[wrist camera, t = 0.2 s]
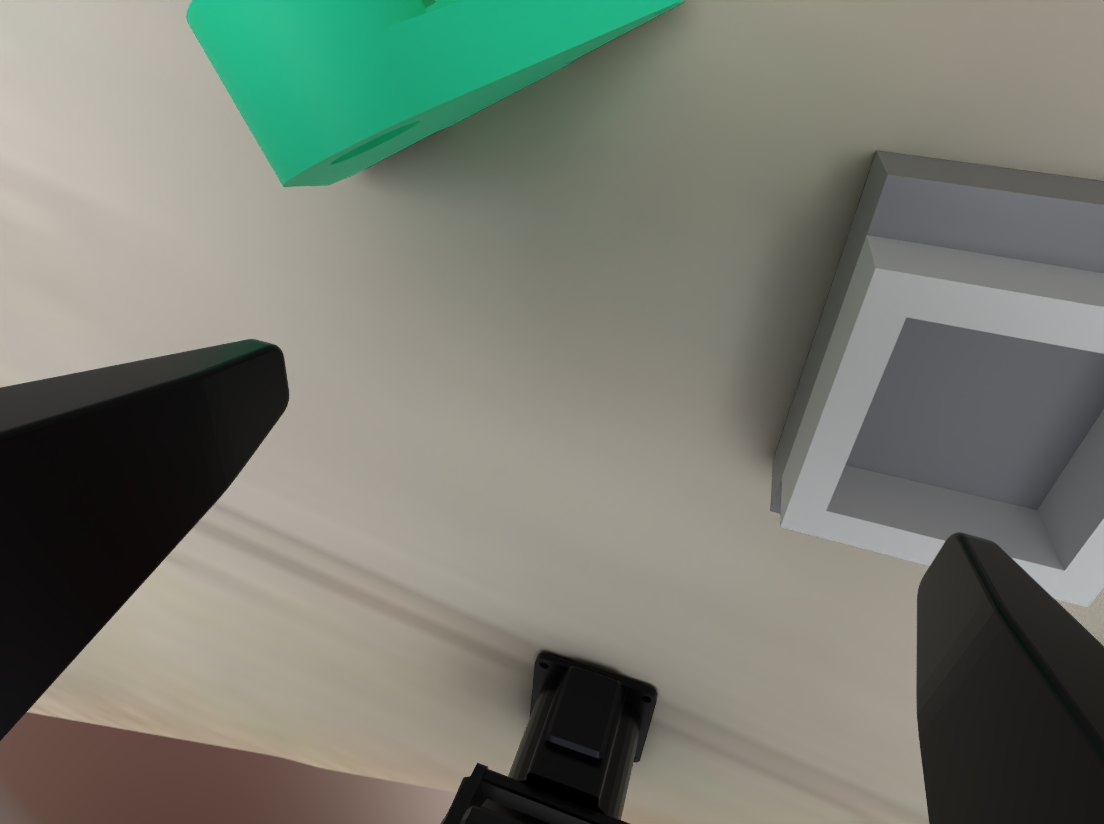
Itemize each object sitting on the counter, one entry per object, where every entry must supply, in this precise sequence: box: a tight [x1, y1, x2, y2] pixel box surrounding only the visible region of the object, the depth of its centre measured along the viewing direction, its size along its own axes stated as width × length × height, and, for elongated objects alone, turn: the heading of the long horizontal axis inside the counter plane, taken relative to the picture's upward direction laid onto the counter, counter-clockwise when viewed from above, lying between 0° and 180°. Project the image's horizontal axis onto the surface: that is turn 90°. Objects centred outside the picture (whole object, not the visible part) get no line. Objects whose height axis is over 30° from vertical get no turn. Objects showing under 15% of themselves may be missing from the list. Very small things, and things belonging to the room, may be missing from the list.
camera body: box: [770, 151, 1104, 607], centre depth 18 cm, size 11×8×6 cm
